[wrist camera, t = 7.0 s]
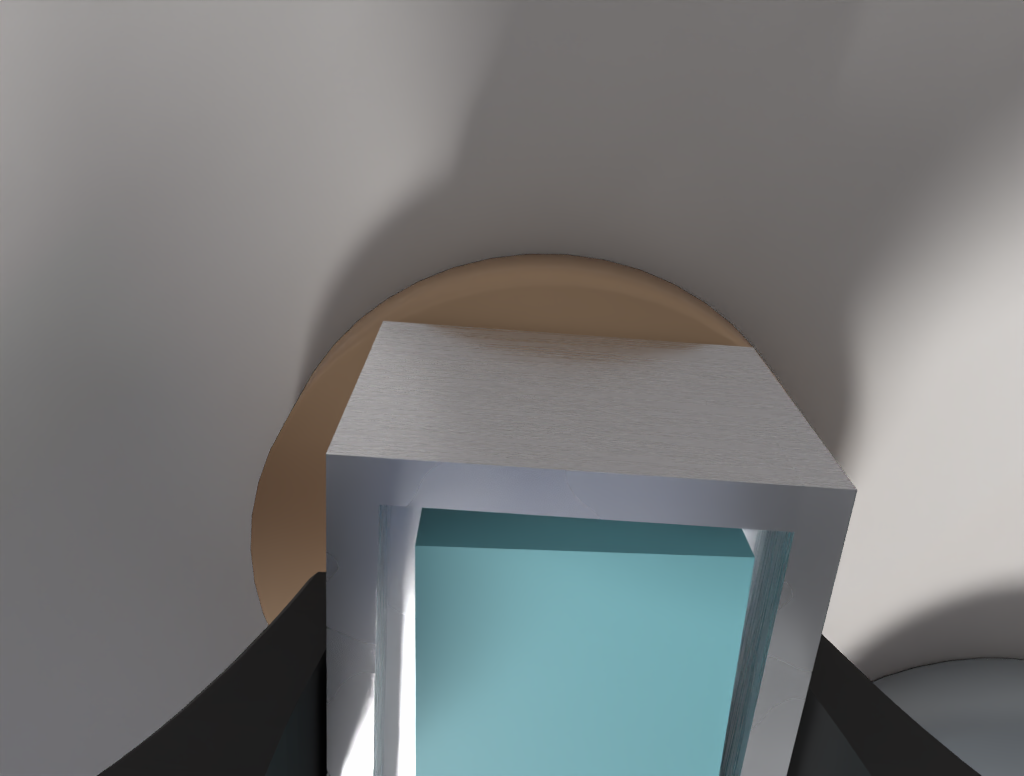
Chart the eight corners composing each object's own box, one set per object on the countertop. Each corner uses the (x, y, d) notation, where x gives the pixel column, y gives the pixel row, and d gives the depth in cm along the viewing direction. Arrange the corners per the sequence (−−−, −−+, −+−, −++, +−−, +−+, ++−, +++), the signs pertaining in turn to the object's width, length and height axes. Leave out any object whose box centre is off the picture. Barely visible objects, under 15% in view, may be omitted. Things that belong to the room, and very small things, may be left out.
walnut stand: (752, 727, 17) (777, 802, 16) (284, 700, 17) (259, 773, 16) (854, 276, 14) (900, 310, 12) (271, 232, 14) (239, 261, 12)
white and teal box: (669, 793, 15) (720, 1041, 12) (373, 776, 15) (327, 1022, 11) (753, 347, 12) (857, 489, 9) (383, 320, 12) (325, 453, 8)
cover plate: (673, 929, 12) (683, 988, 11) (421, 922, 12) (415, 981, 11) (736, 516, 10) (754, 556, 9) (421, 505, 10) (414, 545, 9)
